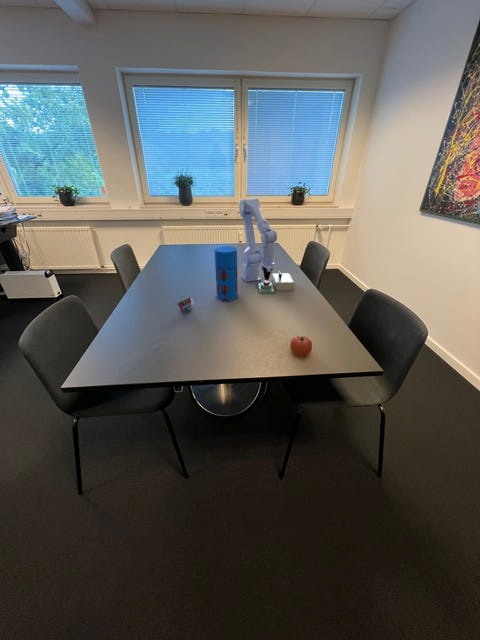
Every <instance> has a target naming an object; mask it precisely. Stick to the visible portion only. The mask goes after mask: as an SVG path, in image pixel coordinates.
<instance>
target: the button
mask: <svg viewBox="0 0 480 640" xmlns="http://www.w3.org/2000/svg"><path fill="white" fill-rule="evenodd" d="M262 282H263V285H269V282H270V281H269V280H263V281H262Z"/></svg>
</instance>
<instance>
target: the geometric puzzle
mask: <svg viewBox="0 0 480 640" xmlns="http://www.w3.org/2000/svg"><path fill="white" fill-rule="evenodd" d="M180 300H181V301H179V302H177V306H178V307H179V309H180V311H185V310H187V311H188V312H190V311H191V309H192V308H193V306H194V305H195V302H194V299H193V298H191V297H186V298H185V299H184V296H181V299H180ZM191 307H192V308H191Z"/></svg>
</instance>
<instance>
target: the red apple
mask: <svg viewBox="0 0 480 640" xmlns="http://www.w3.org/2000/svg"><path fill="white" fill-rule="evenodd" d="M289 349H290V351H291V352H292V353H293V354H294V355H295V356H297V357H306V356H307V355H309V354H311V352H312V350H313V342H312V340H311V339H310V338H309V337H308V336H304V335H297V336H295V337H292V338H291V340H290V346H289Z"/></svg>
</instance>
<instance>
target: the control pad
mask: <svg viewBox="0 0 480 640" xmlns="http://www.w3.org/2000/svg"><path fill="white" fill-rule="evenodd" d="M263 282H264V281H262V282H260V283H259V282H258V283H257V287H258V291H259V293H260V294H275V293H276V289H275V287H274V284H273V282H270V281H269V285H263Z"/></svg>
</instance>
